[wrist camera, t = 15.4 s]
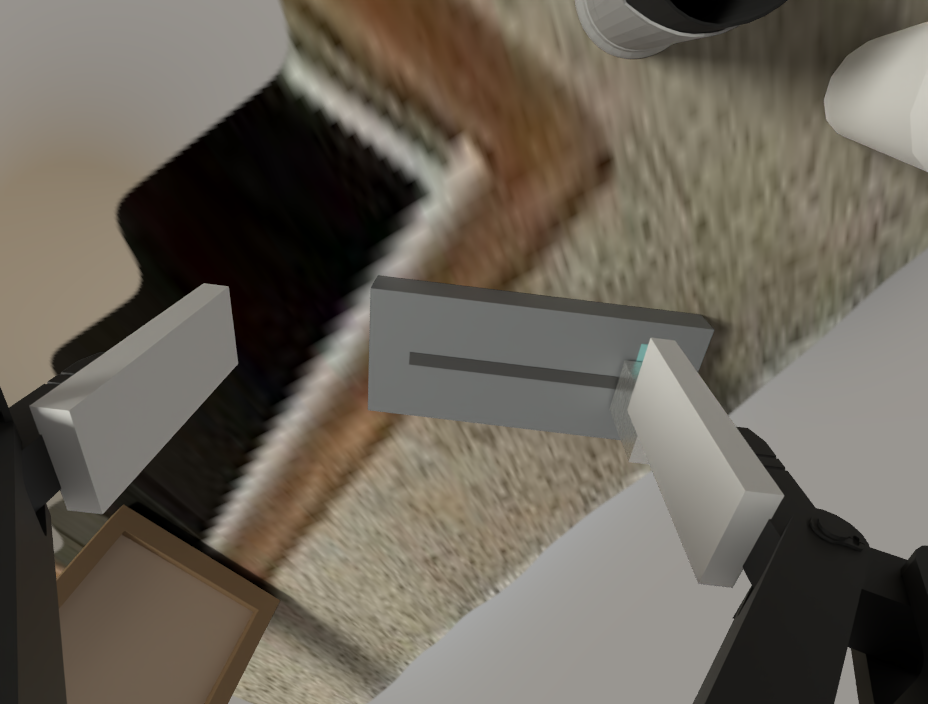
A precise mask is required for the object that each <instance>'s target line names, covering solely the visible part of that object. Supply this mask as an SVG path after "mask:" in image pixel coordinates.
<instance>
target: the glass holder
mask: <svg viewBox="0 0 928 704" xmlns="http://www.w3.org/2000/svg"><path fill="white" fill-rule="evenodd" d="M786 1H787V0H575V6H576V9H577V13H578V17H579V20H580V22H581V24H582V27H583V29H584V31H585V32H586V34H587V35H588V37H589V38H590V39H591V40H592V41H593V42H594V43H595V44H596V45H597V46H598V47H599V48H600V49H602V50H603V51H605V52H607V53H608V54H611V55H614V56H616V57H620V58H627V59H636V58H643V57H648V56H652V55H654V54H656V53H658V52H661V51H663V50H664V49H666V48H667V47H669V46H671V45H672V44H675V43H680V42H685V41H689V40H694V39H699V38H704V37H709V36H714V35H718V34H722V33H725V32H727V31H729V30H731V29H734V28H736V27H738V26H739V25H742V24H746V23H749V22H752V21H754V20H756V19H759V18H761V17H763V16H765V15H767V14H769V13H770V12H772V11H773V10H775V9H777V8H778V7H780V6H781V5H782V4H784V3H785V2H786Z"/></svg>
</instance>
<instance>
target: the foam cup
mask: <svg viewBox="0 0 928 704" xmlns="http://www.w3.org/2000/svg"><path fill="white" fill-rule="evenodd" d="M824 107H825V115H826V120H827V122H828V123H829V124H830V125H831V126H832V128H833V129H834V130H835V131H836V132H837V134H840V135H842V136H843V137H846V138H848V139H851V140H853V141H855V142H858V143H860V144H862V145H865V146H867V147H869V148H872V149H874V150H877V151H879V152H881V153H884V154H886V155H888V156H891V157H893V158H895V159H898V160H900V161H902V162H905V163H907V164H910V165H912V166H914V167H917V168H919V169H921V170H924V171H926V172H928V21H927V22H924V23H921V24H918V25H915V26H912V27H909V28H906V29H903V30H899V31H896V32H893V33H890V34H887V35H884V36H881V37H878V38H875V39H873V40H869V41H868V42H866V43H865V44H863V45H862V46H860V47H859V48H857V49H856V50H854V51H853V52H852V53H850V54H849V55H847V56H846V58H845V59H844V60H843V62H842V63H841V64H840V66H839V67H838V68H837V70H836V71H835V72H834V74H833V75H832V76H831V78H830V81H829V85H828V88H827V91H826V94H825V97H824Z"/></svg>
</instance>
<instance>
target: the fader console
mask: <svg viewBox="0 0 928 704" xmlns="http://www.w3.org/2000/svg"><path fill="white" fill-rule="evenodd" d="M713 332H714V329H713V328H712V327H711V325H710V324H709V323H708V322H707V321H706V320H705V319H704V318H703V316H702V315H699V314H691V313H683V312H675V311H666V310H658V309H650V308H642V307H633V306H625V305H617V304H609V303H600V302H592V301H584V300H576V299H567V298H559V297H551V296H543V295H535V294H526V293H518V292H510V291H502V290H493V289H485V288H477V287H469V286H460V285H452V284H444V283H436V282H428V281H419V280H411V279H403V278H395V277H386V276H377V278H376V280H375V282H374V283H373V285H372V287H371V294H370V339H369V384H368V410H372V411H380V412H389V413H397V414H405V415H414V416H422V417H431V418H439V419H447V420H456V421H464V422H473V423H481V424H489V425H498V426H506V427H515V428H523V429H531V430H540V431H548V432H557V433H565V434H573V435H582V436H590V437H599V438H607V439H615V440H621V439H620V437H619V434H618V431H617V428H616V425H615V423H614V420H613V417H612V414H611V411H610V406H611V403H612V399H613V396H614V393H615V390H616V386H617V383H618V380H619V376H620V373H621V370H622V366H623V363H624V360H629V361H637V362H643V360H644V357H645V353H646V350H647V347H648V344H649V341H650V338H659V339H667V340H675V341H676V342H677V344H678V345H679V347H680V348H681V350H682V351H683V352H684V354H685V355H686V357H687V358H688V360H689V361H690V362H691V364H692V365H693V367H694V368H695V369H696V371H697V372H698V371H699V368H700V366H701V363H702V361H703V358H704V355H705V353H706V350H707V348H708V345H709V343H710V340H711V337H712V335H713Z"/></svg>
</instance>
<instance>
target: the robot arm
mask: <svg viewBox="0 0 928 704" xmlns="http://www.w3.org/2000/svg"><path fill="white" fill-rule="evenodd" d="M237 364H238V360H237V351H236V343H235V335H234V327H233V319H232V310H231V302H230V294H229V286H221V285H212V284H202V285H201V286H199V287H198V288H197V289H195V290H194V291H192V292H191V293H189V294H188V295H187V296H185V297H184V298H182V299H181V300H180V301H178V302H177V303H175V304H174V305H172V306H171V307H170V308H168V309H167V310H165V311H164V312H162V313H161V314H160V315H158V316H157V317H155V318H154V319H152V320H151V321H150V322H148V323H147V324H145V325H144V326H142V327H141V328H140V329H138V330H137V331H135V332H134V333H133V334H131V335H130V336H128V337H127V338H125V339H124V340H123V341H121V342H120V343H118V344H117V345H115V346H114V347H113V348H111V349H110V350H108V351H107V352H105V353H103V352H100V353H97V354H95V355H92V356H90V357H87V358H84V359H82V360H79V361H77V362H76V363H74V364H73V365H71V366H70V367H68V368H67V369H65V370H64V371H63V372H61V375H57V376H55V377H54V378H52V379H51V380H49V381H48V384H43V385H42V386H40V387H39V388H37V389H36V390H35V391H33V392H32V393H30V394H29V395H27V396H26V397H24V398H23V399H21V400H20V401H18V402H17V403H15V404H14V405H12V406H11V407H10V408H8V405H7V403H6V400H5V398H4V395H3V393H2V390H1V388H0V704H67V697H66V686H65V674H64V663H63V652H62V640H61V629H60V617H59V606H58V594H57V583H56V572H55V560H54V550H53V538H52V526H51V515H50V512H49V510H48V507H47V505H46V502H48V501H49V500H50V499H51V498H52V497H53V496H54V495H55V494H56V493H57V492H58V491H59V490H60V491H61V494H62V497H63V499H64V502H65V505H66V507H67V510H71V511H80V512H88V513H97V514H103V513H104V512H105V511H106V510H107V509H108V508H109V507H110V505H111V504H112V503H113V502H114V501H115V500H116V499H117V498H118V497H119V495H120V494H121V493H122V492H123V491H124V490H125V489H126V488H127V487H128V485H129V484H130V483H131V482H132V481H133V480H134V479H135V478H136V476H137V475H138V474H139V473H140V472H141V471H142V470H143V469H144V468H145V466H146V465H147V464H148V463H149V462H150V461H151V460H152V459H153V458H154V456H155V455H156V454H157V453H158V452H159V451H160V450H161V449H162V448H163V446H164V445H165V444H166V443H167V442H168V441H169V440H170V439H171V438H172V436H173V435H174V434H175V433H176V432H177V431H178V430H179V429H180V428H181V426H182V425H183V424H184V423H185V422H186V421H187V420H188V419H189V418H190V416H191V415H192V414H193V413H194V412H195V411H196V410H197V409H198V408H199V406H200V405H201V404H202V403H203V402H204V401H205V400H206V399H207V398H208V396H209V395H210V394H211V393H212V392H213V391H214V390H215V389H216V388H217V386H218V385H219V384H220V383H221V382H222V381H223V380H224V379H225V378H226V376H227V375H228V374H229V373H230V372H231V371H232V370H233V369H234V368H235V366H236V365H237ZM627 411H628V413H629V416H630V418H631V421H632V423H633V426H634V428H635V430H636V433H637V435H638V438H639V440H640V443H641V445H642V448H643V450H644V452H645V455H646V457H647V460H648V462H649V465H650V467H651V469H652V472H653V474H654V476H655V479H656V481H657V484H658V487H659V489H660V491H661V494H662V496H663V499H664V501H665V504H666V506H667V508H668V511H669V513H670V516H671V518H672V521H673V523H674V526H675V528H676V530H677V533H678V535H679V538H680V540H681V543H682V545H683V547H684V550H685V552H686V554H687V557H688V560H689V562H690V564H691V567H692V569H693V572H694V574H695V577H696V579H697V581H698V584H706V585H714V586H722V587H731V588H733V586H734V585H735V583H736V581H737V579H738V577H739V576H740V574H741V572H742V570H743V569H744V571H745V573H746V575H747V577H748V579H749V581H750V582H751V584H752V586H751V588H750V589H749V591H748V593H747V595H746V596H745V598H744V600H743V601H742V603H741V605H740V606H739V608H738V610H737V612H736V613H735V615H734V617H733V618H734V621H733V623H732V625H731V627H730V629H729V631H728V633H727V635H726V637H725V639H724V641H723V643H722V645H721V648H720V650H719V651H718V653H717V656H716V658H715V660H714V662H713V664H712V666H711V668H710V670H709V672H708V674H707V676H706V678H705V680H704V682H703V684H702V686H701V688H700V690H699V692H698V695H697V696H696V698H695V700H694V702H693V704H834V701H835V697H836V693H837V689H838V685H839V680H840V676H841V672H842V668H843V664H844V660H845V656H846V651H847V647H849V648H851V651H852V658H853V665H854V672H855V679H856V686H857V693H858V700H859V704H928V546H921V547H920V548H918V549H916V550H915V552H914V553H913V554H912V555H911V557H910V558H909V559H908V560H906V559H903V558H900V557H897V556H894V555H891V554H888V553H885V552H882V551H879V550H876V549H873V548H870V547H869V544H868V542H867V541H866V539H865V538H864V536H863V535H862V534H861V533H860V532H859V531H858V530H857V529H855V527H853V526H852V525H851V524H850V523H848V522H846V521H845V520H843V519H842V518H840V517H838V516H837V515H834V514H832V513H830V512H827V511H824V510H821V509H817V508H815V507H814V505H813V504H812V503H811V501H810V500H809V499H808V497H807V496H806V495H805V493H804V492H803V491H802V489H801V488H800V487H799V485H798V484H797V483H796V481H795V480H794V479H793V477H792V476H791V475H790V474H789V472H788V471H785V467H784V466H783V464H782V463H781V462H780V460H779V459H776V455H775V454H774V452H773V451H772V450H771V448H770V447H769V446H768V444H767V443H766V442H765V441H764V440H763V439H761V438H760V437H759V436H757V435H756V434H755V433H754V432H752V431H751V430H749V429H748V428H741V427H736V426H735V425H734V423H733V422H732V421H731V419H730V418H729V416H728V415H727V413H726V412H725V411H724V409H723V408H722V406H721V405H720V403H719V402H718V401H717V399H716V398H715V396H714V395H713V394H712V392H711V391H710V389H709V388H708V386H707V385H706V384H705V382H704V381H703V379H702V378H701V377H700V375H699V374H698V372H697V371H696V369H695V368H694V367H693V365H692V364H691V362H690V361H689V360H688V358H687V357H686V355H685V354H684V352H683V351H682V350H681V348H680V347H679V345H678V344H677V342H676V341H675V340H667V339H659V338H650V341H649V344H648V347H647V350H646V353H645V357H644V360H643V363H642V366H641V369H640V372H639V375H638V378H637V381H636V384H635V388H634V391H633V394H632V397H631V400H630V403H629V406H628V409H627Z"/></svg>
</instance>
